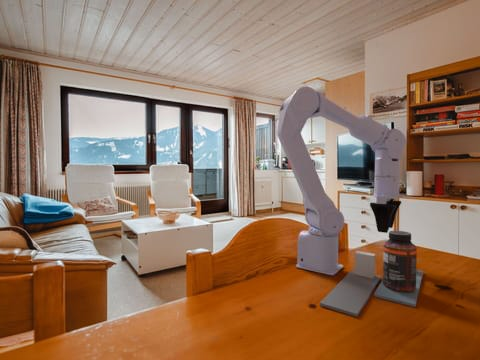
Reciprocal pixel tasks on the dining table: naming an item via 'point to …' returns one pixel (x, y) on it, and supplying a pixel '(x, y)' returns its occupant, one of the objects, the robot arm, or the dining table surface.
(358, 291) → the strip empty
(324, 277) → the dining table surface
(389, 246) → the supplement bottle
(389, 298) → the strip
